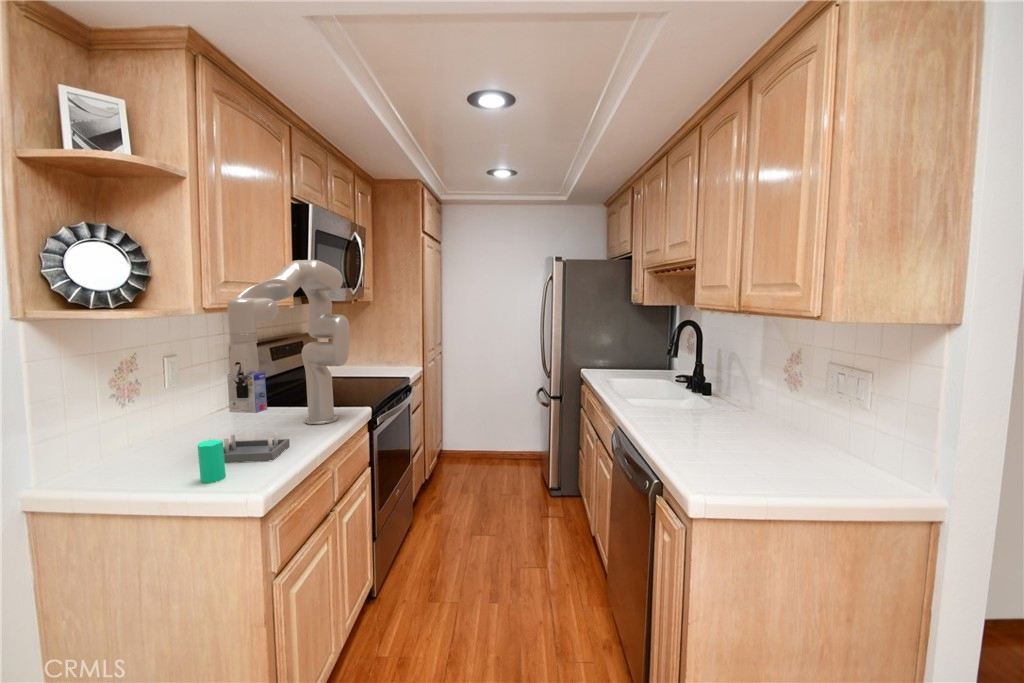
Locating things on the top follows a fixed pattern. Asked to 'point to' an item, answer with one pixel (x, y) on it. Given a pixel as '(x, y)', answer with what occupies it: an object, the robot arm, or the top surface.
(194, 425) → the top surface
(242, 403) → the ink cartridge box
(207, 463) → the candle
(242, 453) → the pin tray
